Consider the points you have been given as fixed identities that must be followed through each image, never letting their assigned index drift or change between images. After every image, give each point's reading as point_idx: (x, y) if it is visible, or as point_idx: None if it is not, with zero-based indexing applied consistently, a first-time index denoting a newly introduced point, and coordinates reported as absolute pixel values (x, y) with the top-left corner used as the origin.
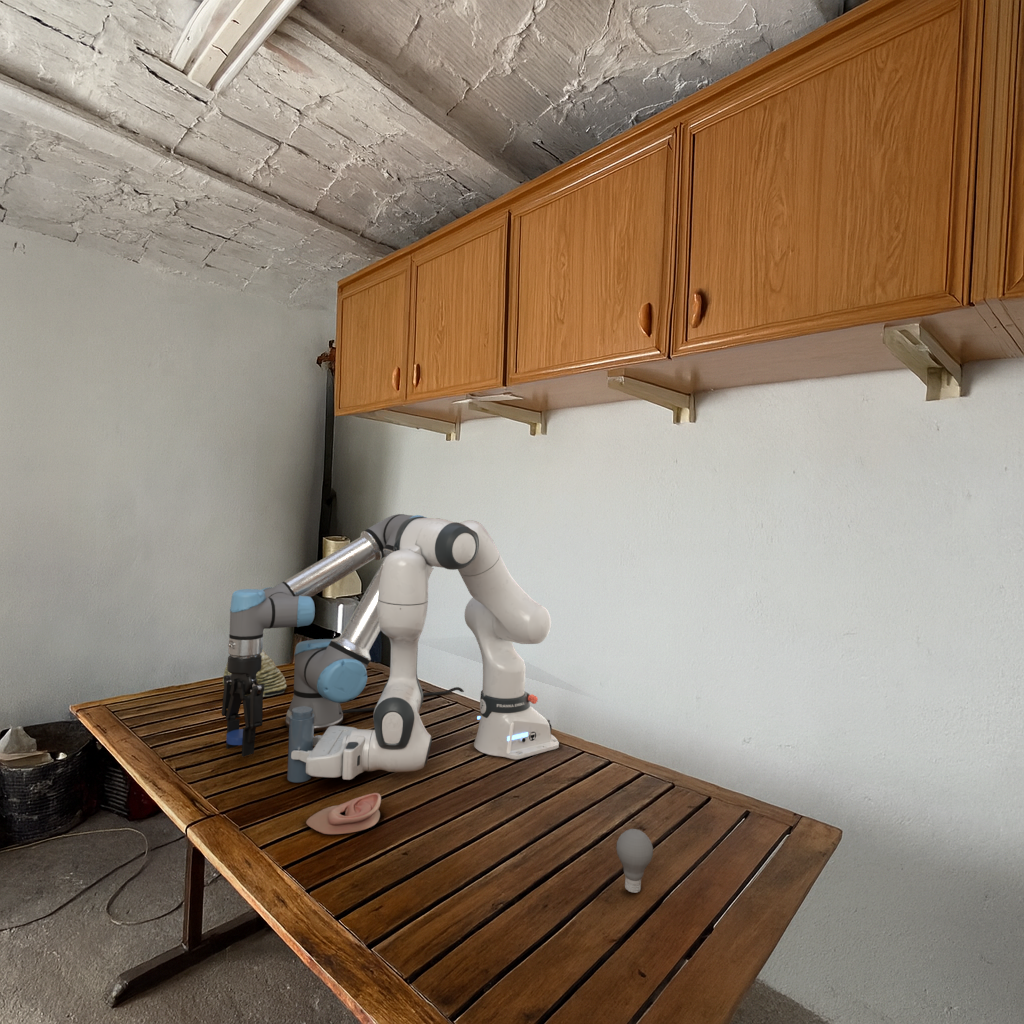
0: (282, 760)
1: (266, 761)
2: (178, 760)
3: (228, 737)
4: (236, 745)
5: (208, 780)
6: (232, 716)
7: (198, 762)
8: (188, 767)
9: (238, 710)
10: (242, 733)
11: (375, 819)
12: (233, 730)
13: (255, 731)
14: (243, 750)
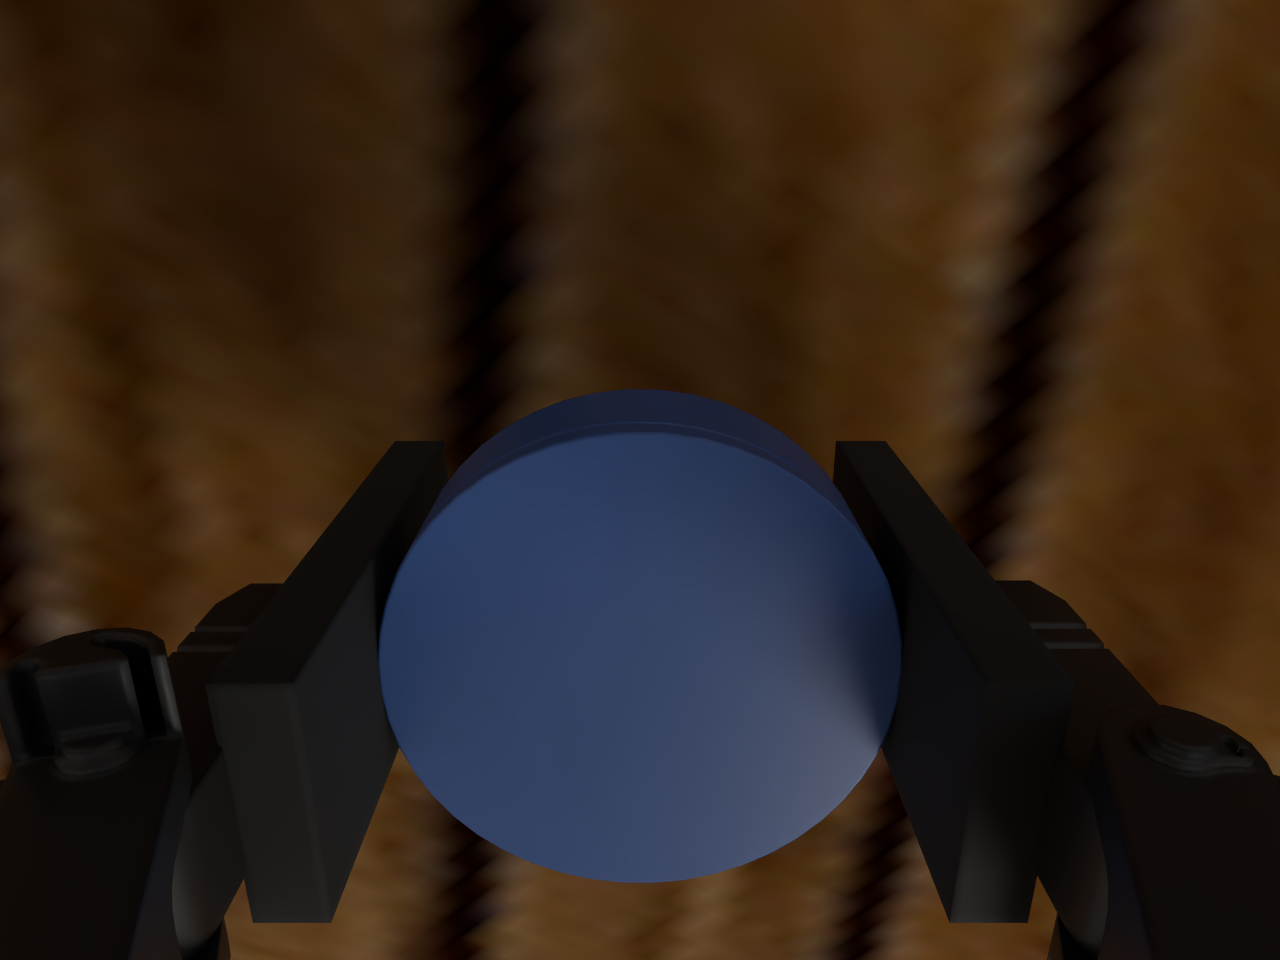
0: (1222, 131)
1: (1042, 316)
2: (231, 913)
3: (643, 874)
4: (440, 474)
5: (918, 946)
6: (188, 902)
7: (425, 826)
8: (481, 928)
9: (145, 929)
10: (673, 657)
11: None
12: (389, 685)
13: (1154, 702)
14: None
